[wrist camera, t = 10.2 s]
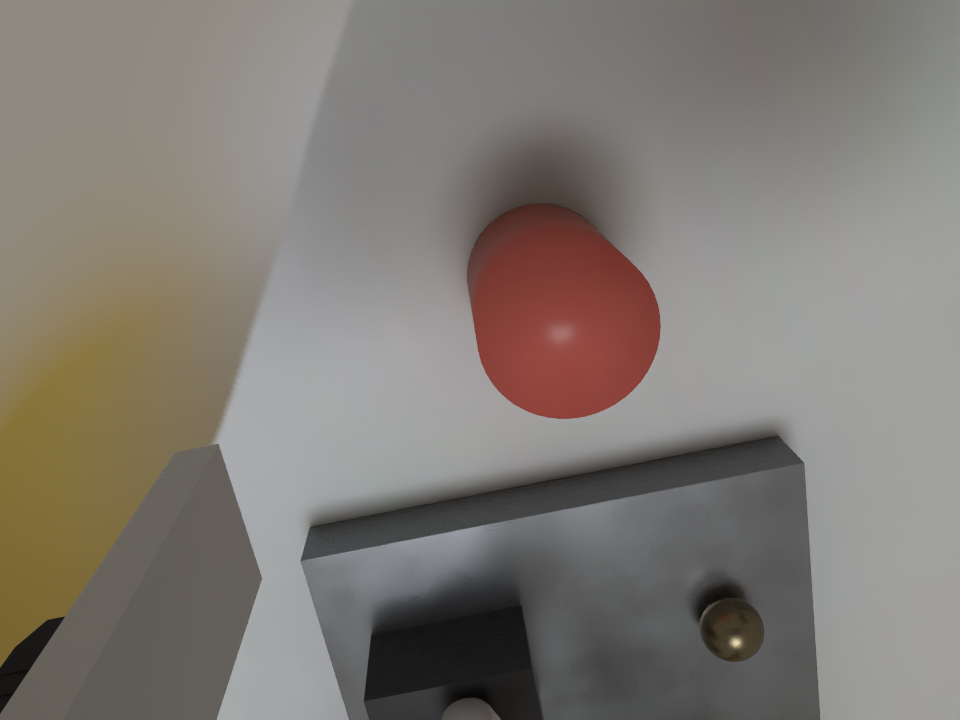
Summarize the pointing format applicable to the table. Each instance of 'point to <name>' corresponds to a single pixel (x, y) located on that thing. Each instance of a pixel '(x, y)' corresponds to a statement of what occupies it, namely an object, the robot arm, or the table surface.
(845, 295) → the table surface
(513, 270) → the red rounded cylinder
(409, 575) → the panel
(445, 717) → the breaker
